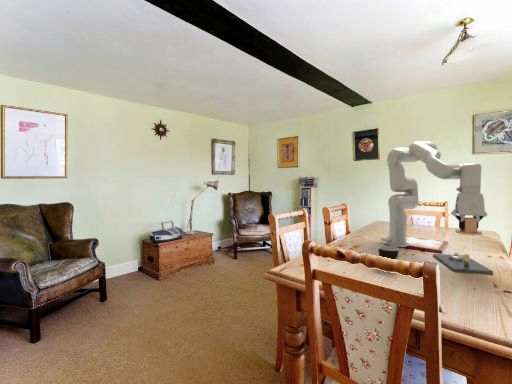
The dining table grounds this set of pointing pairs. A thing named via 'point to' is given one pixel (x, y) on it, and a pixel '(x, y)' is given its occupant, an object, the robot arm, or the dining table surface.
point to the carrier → (462, 263)
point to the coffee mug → (388, 252)
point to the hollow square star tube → (469, 227)
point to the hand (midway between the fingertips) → (468, 229)
